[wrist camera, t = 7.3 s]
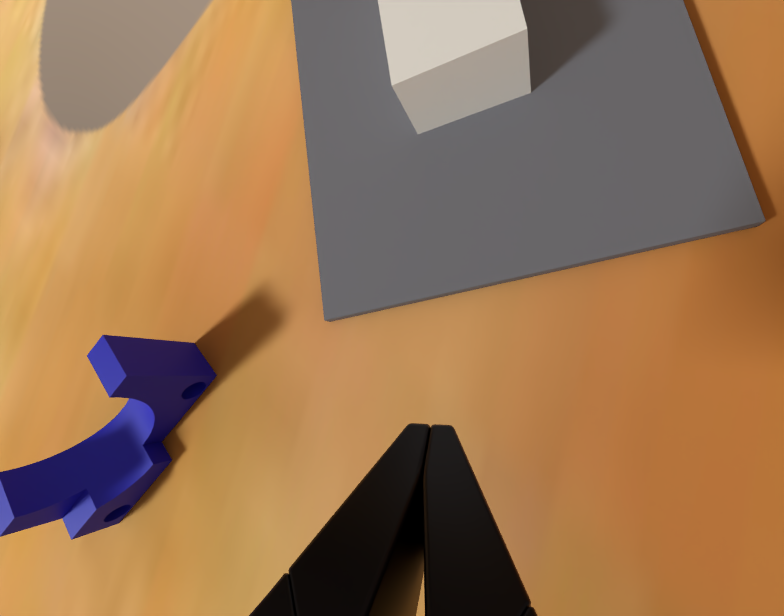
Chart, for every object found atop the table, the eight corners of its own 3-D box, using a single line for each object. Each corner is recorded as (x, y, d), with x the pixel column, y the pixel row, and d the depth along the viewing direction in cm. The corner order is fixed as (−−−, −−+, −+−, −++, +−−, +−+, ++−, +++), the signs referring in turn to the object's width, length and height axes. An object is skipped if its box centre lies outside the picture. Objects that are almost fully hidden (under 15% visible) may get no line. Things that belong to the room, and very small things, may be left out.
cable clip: (121, 522, 26) (7, 561, 21) (95, 467, 28) (-17, 491, 22) (230, 392, 25) (139, 397, 19) (196, 343, 26) (102, 334, 21)
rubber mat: (758, 226, 16) (765, 221, 16) (330, 321, 23) (324, 320, 22) (606, -184, 21) (608, -199, 21) (294, -11, 28) (289, -19, 27)
